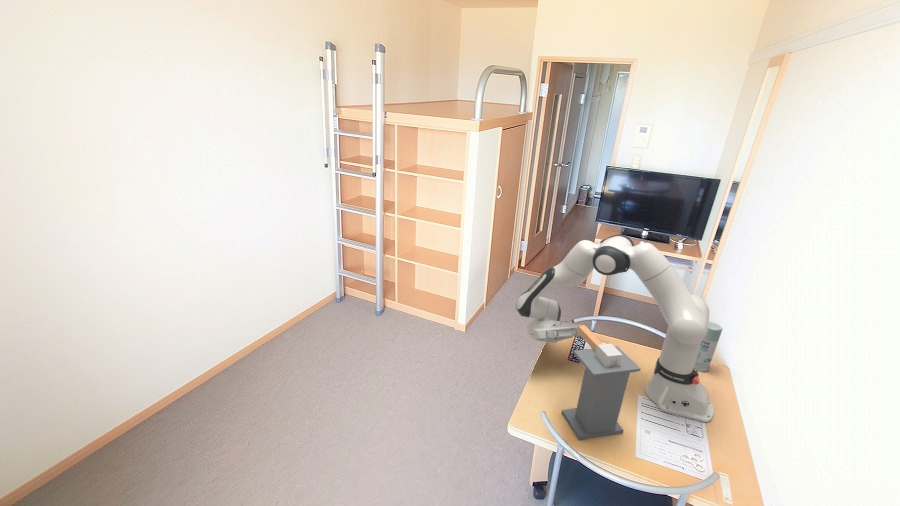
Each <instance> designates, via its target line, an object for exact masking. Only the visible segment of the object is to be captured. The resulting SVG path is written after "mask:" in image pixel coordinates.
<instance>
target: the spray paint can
mask: <svg viewBox="0 0 900 506" xmlns="http://www.w3.org/2000/svg"><path fill="white" fill-rule="evenodd" d="M722 331H723V327H722V326H721V325H720V324H717V323H715V322H712V321H709V323H708V332H707V334H706V336H705V337H704V339H703V340H702V342H701V345H700V349H699V353H698V356H697V359H696V362H695V365H694V369H695V371H696V369H697V371H698V372H701V373H706V372H708V370H709V368H710V365H711V362H712V360H713V357H714V354H715V351H716V349H717V346H718V344H719V340H720V337H721V335H722Z"/></svg>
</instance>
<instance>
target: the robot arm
mask: <svg viewBox="0 0 900 506" xmlns="http://www.w3.org/2000/svg"><path fill="white" fill-rule="evenodd" d="M593 270H595V271H596V272H597V273H599V274H601V275H603V276H614V275H617V274H621V273H627V272H628V271H629V270H631V271H633V273H635V275H636V276H637V277H638V279H639V280H640V282H641V283H642V284H643V286H644V287H645V288H646V289H647V291H648V292H649V294H650V295H651V297H653V300H654V301H655V303H656V305H657V306H658V309H659V310H660V313H661V315H662V317H663V318H664V320H665V322H666V323H667V325H668V326H667V330H666V334H665V337H664V341H663V343H662V347H661V350H660V355H659V357H658V358H657V360H656V362H655V366H654V369H653V375H652V377H651V379H650V381H648V383H647V385H646V386H645V388H644V390H645V393H646V396H647V397H648V399H650V400H651V401H652V402H654V403H655V405H656V406H657V407H658V409H659V410H661V411H662V412H664V413H665V412H666V413H668V414H673V415H676V416H680V417H684V418H688V419H691V420H695V421H697V422H698V421H699V422H703V423H709V422H711V421H712V420H713V417H714V411H715V408H714V405H713V403H712V401H711V399H710V397H709V396H710V395H709V392H708V389H707V388H706V387H705V386H704V385H703V384H702V382H700V378H699V373H698V372H699V371H697V369H696V370H695V369H694V365H695V362H696V359H697V356H698V353H699V349H700V345H701V342H702V340H703V339H704V337H705V336H706V334H707V332H708V323H709V322H710V308H709V305H708V304H707V302H706V300H705V299H704V298H702V297H701V296H699V295H697V294H693V293H690V291H689V289H688V287H687V285H686V283H685V281H684V280H683V278H682V277H681V276H680V274H679V273H678V272H677V270H676V269H675V268H674V266H673V265H672V264H671V262H670V261H669V260H668V259H667V257H666V256H665V255H664V254H663V253H662V252H661V251H660V250H659V249H658V248H656V246H654V244H652V243H650V242H641V243H639V244H636V245H635V243H634V241H633V239H632V238H630V236H628V235H625V234H622V233H621V234H619V233H618V234H614V235H612V236H609V237H606V238H604V239H602V240H600V242H599V243H595V242H593V241H591V240H588V239H583V240H580V241H579V242H577V243H576V244H575V245H574V246H573V247H572V248H571V249H570V251H569V252H568V253H567V255H566V256H564V259H563V260H562V261H560V262H559V263H558V264H557V265H554V266H553V267H550V268H547V269H546V270H545V271H544V272H543V273H542V274H541V275H540V276H539V277H538V278H537V280H535V281H534V282H533V283H532V285H530V287H529V288H528V289H527V290H526V291H524V292H523V293H522V294H520V295H519V297H518V298H517V300H516V303H515V309H516V311H517V312H518V314H519V315H520V317H525V318H530V319H533V320H532V321H530V322H529V323H528V325H527V333H528V334H529V336H530V338H532V339H534V340H536V341H539V342H545V343H552V344H554V343H558V342H561V341H563V340H567V339H573V338H574V337H581V336H580V335H579V334H578V332H577V329H578V326H580V325H581V324H579V323H572V322H571V321H560V320H561V316H562V310H561V306H560V303H558V301H557V300H554V299H551V298H547V297H543V296H542V295H543V294H544V293H545V292H546V291H547V290H548V289H551V288H555V287H577V286H579V285H581V284H582V283H584V282H585V281H586V280H587V278H588V277H589V276H590V275H591V273H592V272H593Z"/></svg>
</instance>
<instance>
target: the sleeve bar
mask: <svg viewBox="0 0 900 506" xmlns="http://www.w3.org/2000/svg"><path fill="white" fill-rule="evenodd" d="M577 332H578V334H579V335H580V336H579V337H581V339H583V340H584V341H585V342H586V343H587V344H588V345H589V347H590V349H593V350H594V351H595V352H596V353H595V356H596V357H597V358H598V359H599V361H600V362H601V363H602V364H603V365H604V366H605V367H612V366H620V363H621V359H622V354H621V353H620V352H619V351H618V350H617V349H616V348H615V347H614V346H615V345H614V344H612V343H603V342H602V341H601V340H600V339H599V338H598V337H597V336H596V335H595V334H594V333H593V332H592V330H590V329H589V328H588V327H587V326H586V325H585V324H584V325H583V324H580V326H578V329H577Z"/></svg>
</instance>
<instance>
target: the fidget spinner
mask: <svg viewBox="0 0 900 506" xmlns="http://www.w3.org/2000/svg"><path fill="white" fill-rule="evenodd" d="M696 456H697V457H699V458H697V457H696ZM683 457H686V458H687V459H685V458H683ZM679 458H680V460H681V461H683V462H684V461H685V463H689V464H691V465H693V468H694V470H696V471H698V472H699V473H704V472H705V471H706V470H705V469H706V468H705V467H704V466H703V465H702V464H701V462H703V460H704V459H703V457H702V455H701V454H699V453H696V452H694V453H692V454H691V455H688V454H686V453H685V454H684V453H682V454H680V455H679ZM693 460H695V461H696V462H694V461H693ZM697 466H698V467H701V469H700V468H698V467H697Z"/></svg>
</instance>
